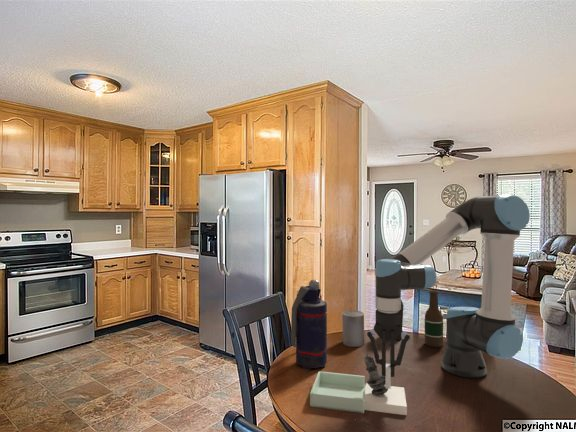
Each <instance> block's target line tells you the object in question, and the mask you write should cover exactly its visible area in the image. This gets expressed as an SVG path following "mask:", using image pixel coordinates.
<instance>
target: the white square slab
mask: <svg viewBox="0 0 576 432" xmlns="http://www.w3.org/2000/svg"><path fill="white" fill-rule="evenodd" d="M384 386H386V384H385V385H384ZM365 387H366V388H365V401H364V411H371V412H377V413H378V412H379V413H385V414H394V415H400V416H401V415H402V416H407V415H408V405H407V400H406V399H407V397H406V391H405V387H402V386H394V385H391V389H388V391H387V392H386V393H384V394H382V395H373V394H372V390H373V389H372V388H371V387H370V386H369V384H367V382H366V383H365Z"/></svg>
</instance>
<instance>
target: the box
mask: <svg viewBox="0 0 576 432" xmlns="http://www.w3.org/2000/svg"><path fill="white" fill-rule="evenodd" d="M365 382H366V377H365V375H357V374H351V373H350V374H349V373H341V372H340V373H339V372H330V371H320V370H319V371H318V372H317V375H316V377H315V381H314V382H313V385H312V388H311V390H310V393H309V398H310V399H309V407H311V408H320V409H326V410H335V411H341V412H342V411H343V412H350V413H358V414H365V410H364V401H365V388H366V383H365Z"/></svg>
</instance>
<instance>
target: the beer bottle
mask: <svg viewBox="0 0 576 432" xmlns="http://www.w3.org/2000/svg"><path fill="white" fill-rule="evenodd" d="M428 293H429V303H428V308H427V310H426V312H425V313H424V344H425V345H426V346H428V347H431V348H441V347H443V346H444V317H443V314H442V312H441V311H440V307H439V298H438V297H439V291H437V290H435V289H431V290H429V292H428Z"/></svg>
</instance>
